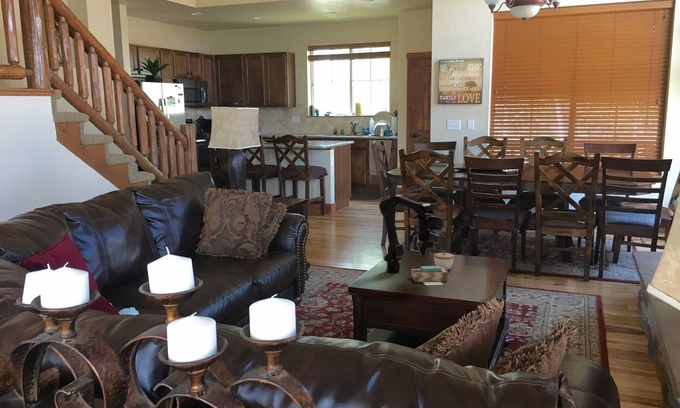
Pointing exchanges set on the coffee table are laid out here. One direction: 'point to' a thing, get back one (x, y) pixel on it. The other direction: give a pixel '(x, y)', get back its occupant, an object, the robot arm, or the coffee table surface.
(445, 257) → the lidded jar
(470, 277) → the coffee table surface
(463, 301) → the coffee table surface
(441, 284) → the mat
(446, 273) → the wooden tray
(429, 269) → the light blue rectangular block
